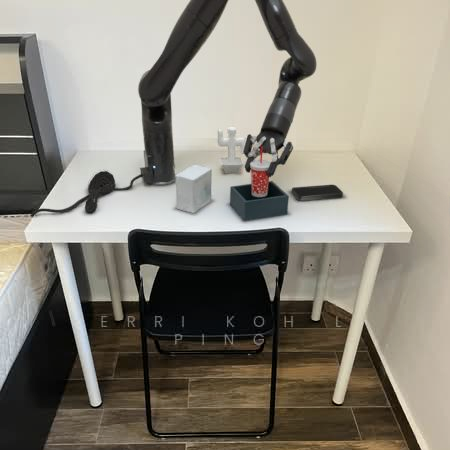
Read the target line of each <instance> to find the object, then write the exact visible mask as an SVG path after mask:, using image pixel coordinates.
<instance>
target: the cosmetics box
mask: <svg viewBox="0 0 450 450" xmlns="http://www.w3.org/2000/svg"><path fill="white" fill-rule="evenodd" d="M212 171H213V170H212V167H211V168H210V167H207V166H202V165H199V164H193V165H191V166H190V167H187V168H186V169H184V170H183V171H181V172H179V173H177V174H175V196H176V199H175V200H176V201H175V202H176V207H175V209H177V210H181V211H184V212H188V213H191V214H195V213H196V212H197V211H199V210H200V209H202V208H203V207H204V206H207V204H209V203H210V202H212V183H213V181H212V178H213V177H212V175H213V174H212Z"/></svg>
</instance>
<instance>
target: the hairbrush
mask: <svg viewBox="0 0 450 450" xmlns="http://www.w3.org/2000/svg"><path fill="white" fill-rule="evenodd" d="M92 175H93V176H92V177H91V179H89V180H88V182H87V191H88V194H90V193H91V195H90V197H89V198H88V199H86V200H85V203H84V211H85V213H87V214H93V213H94V212H95V211H96V209H97V206H98V197H99V196H100V195H102V196H103V195H107V194H111V193H112V192H113V188H116V180H115V177H114V175H113V173H111V172H110V171H109V170H108V169H107V170H106V169H103V171H102V170H101V169H98V172H96V171H95V172H94V173H93V174H92ZM102 188H106V189H102ZM109 188H110V189H109ZM98 189H101V190H98ZM96 190H98V191H96Z"/></svg>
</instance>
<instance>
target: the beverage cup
mask: <svg viewBox="0 0 450 450" xmlns="http://www.w3.org/2000/svg"><path fill="white" fill-rule="evenodd" d="M262 150H263V146H261V155H260V156H259V157H260V158H259V159H255V160H253V161H252V162H251V163H250V168H251V171H250V180H251V181H250V184H251V187H252V195H253V196H255V197H265V196H267V192H268V184H269V181H270V177H268V176H267V171H268V168H269V166H270V163H271V162H272V161H268V160H264V159H263V153H262Z"/></svg>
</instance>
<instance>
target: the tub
mask: <svg viewBox="0 0 450 450" xmlns="http://www.w3.org/2000/svg"><path fill="white" fill-rule="evenodd" d="M229 188H230V189H229V190H230V191H229V205H230V206H231V207H232V209H233V210H234V211H235V212H236V213H237V215H238V216H239V217H240V218H241V220H242V221H244V222H247V221H254V220H260V219H267V218H272V217H280V216H285V215H288V209H289V200H290V199H289V198H290V195H289V194H288V193H287V192H286V191H284V190H283V189H282V188H281V187H279V186H278V185H277V183H275V182H274V181H273V180H269V184H268V192H267V196H265V197H255V196H253V195H252V187H251V183H247V184H240V185H239V184H238V185H232V186H230V187H229Z"/></svg>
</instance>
